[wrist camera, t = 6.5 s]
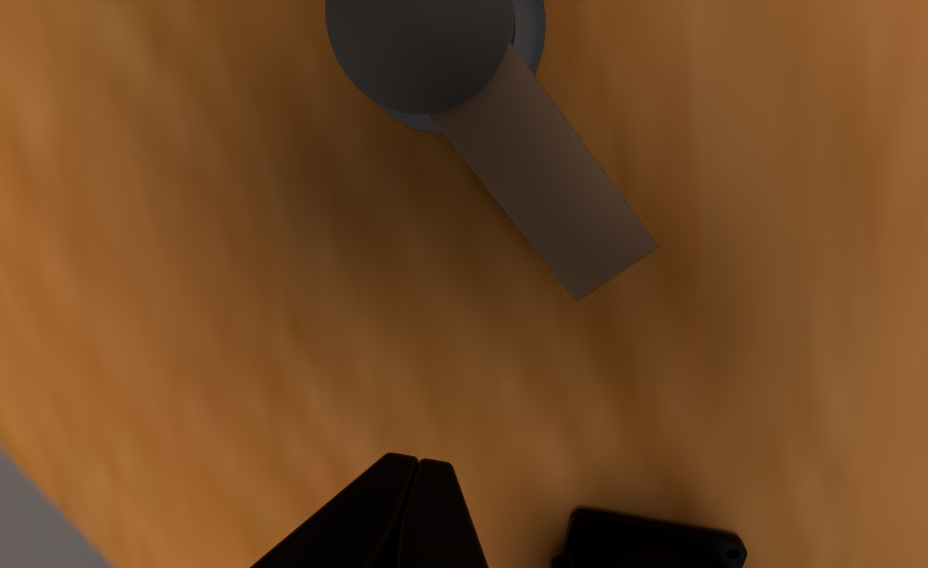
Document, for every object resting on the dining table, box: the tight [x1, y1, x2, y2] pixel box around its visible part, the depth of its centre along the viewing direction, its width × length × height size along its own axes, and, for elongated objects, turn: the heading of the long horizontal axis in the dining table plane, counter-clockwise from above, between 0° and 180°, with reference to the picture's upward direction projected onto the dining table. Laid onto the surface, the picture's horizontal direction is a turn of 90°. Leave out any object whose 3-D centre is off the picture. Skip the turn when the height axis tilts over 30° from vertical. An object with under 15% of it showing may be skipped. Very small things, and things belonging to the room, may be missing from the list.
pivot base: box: [376, 0, 545, 134], centre depth 16 cm, size 6×6×1 cm
